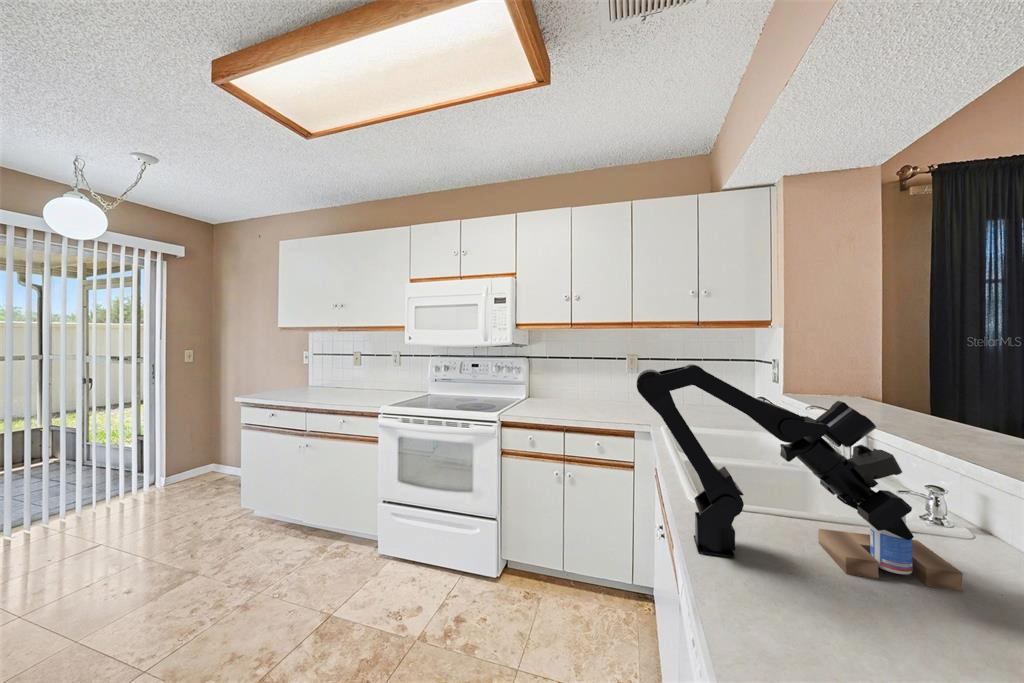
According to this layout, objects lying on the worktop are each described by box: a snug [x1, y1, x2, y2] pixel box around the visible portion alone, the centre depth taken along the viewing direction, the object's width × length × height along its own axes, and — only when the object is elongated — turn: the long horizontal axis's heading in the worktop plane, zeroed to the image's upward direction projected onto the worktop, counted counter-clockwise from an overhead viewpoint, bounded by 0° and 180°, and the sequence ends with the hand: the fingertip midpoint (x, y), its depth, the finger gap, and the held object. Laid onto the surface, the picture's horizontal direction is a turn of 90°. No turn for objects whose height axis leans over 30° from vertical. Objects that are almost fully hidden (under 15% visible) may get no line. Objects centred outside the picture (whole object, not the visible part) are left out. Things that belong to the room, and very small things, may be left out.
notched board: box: [817, 528, 964, 592], centre depth 72 cm, size 16×11×3 cm
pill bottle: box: [869, 515, 913, 575], centre depth 69 cm, size 6×5×10 cm
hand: (900, 530), depth 69 cm, fingers closed on pill bottle, 5 cm apart
